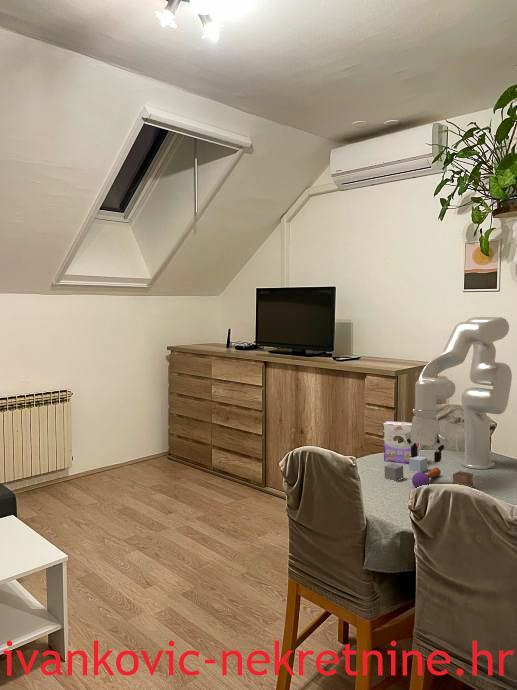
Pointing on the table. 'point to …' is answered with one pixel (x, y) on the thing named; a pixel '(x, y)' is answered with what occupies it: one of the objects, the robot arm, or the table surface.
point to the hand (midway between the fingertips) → (425, 459)
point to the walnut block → (463, 478)
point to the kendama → (424, 477)
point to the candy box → (396, 441)
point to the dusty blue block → (418, 464)
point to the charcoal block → (393, 472)
